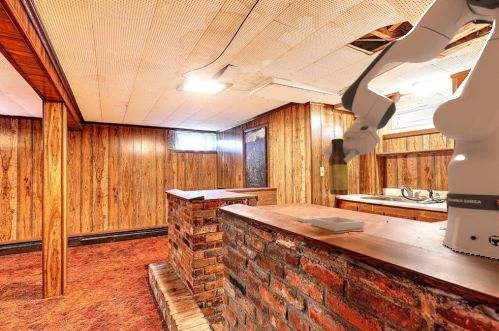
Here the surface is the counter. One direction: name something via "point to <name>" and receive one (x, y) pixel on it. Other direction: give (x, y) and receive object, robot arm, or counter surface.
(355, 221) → the bin
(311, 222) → the slate board
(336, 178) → the sauce bottle
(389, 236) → the counter surface
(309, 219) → the tile
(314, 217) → the tile
